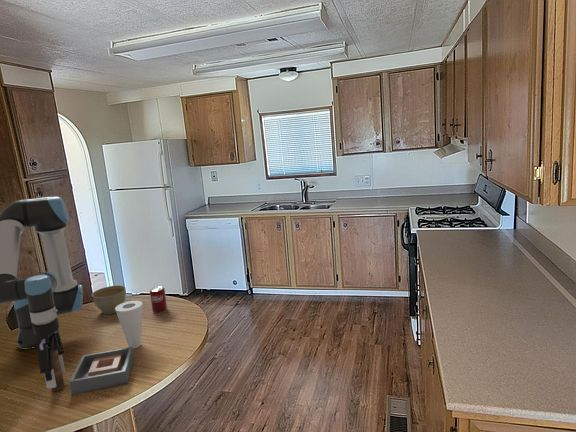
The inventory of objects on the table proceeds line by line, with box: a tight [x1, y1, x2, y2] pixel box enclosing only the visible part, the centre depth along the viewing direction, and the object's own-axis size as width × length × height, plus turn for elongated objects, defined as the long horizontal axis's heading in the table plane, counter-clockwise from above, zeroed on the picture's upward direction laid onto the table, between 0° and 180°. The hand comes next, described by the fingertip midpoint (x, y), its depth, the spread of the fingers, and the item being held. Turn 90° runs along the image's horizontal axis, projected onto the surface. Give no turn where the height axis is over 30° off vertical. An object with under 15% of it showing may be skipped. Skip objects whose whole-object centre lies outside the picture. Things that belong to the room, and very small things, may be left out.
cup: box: [115, 300, 143, 349], centre depth 165 cm, size 11×11×18 cm
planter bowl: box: [91, 285, 127, 315], centre depth 205 cm, size 16×16×11 cm
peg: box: [50, 349, 65, 393], centre depth 138 cm, size 4×4×14 cm
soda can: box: [149, 286, 168, 315], centre depth 200 cm, size 7×7×12 cm
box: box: [69, 346, 135, 395], centre depth 145 cm, size 18×18×5 cm
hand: (56, 379), depth 139 cm, fingers open, 9 cm apart
